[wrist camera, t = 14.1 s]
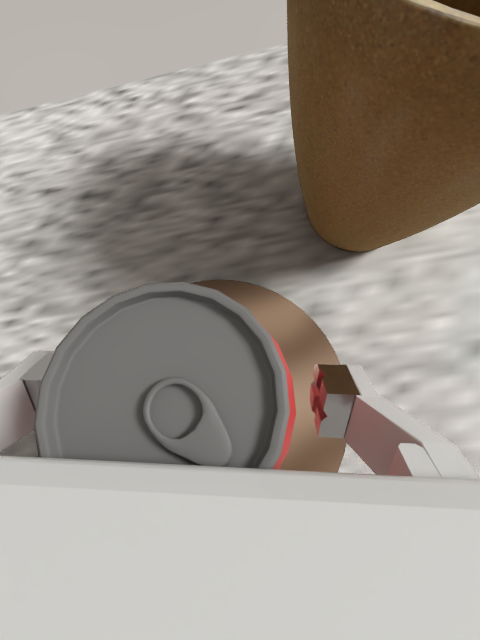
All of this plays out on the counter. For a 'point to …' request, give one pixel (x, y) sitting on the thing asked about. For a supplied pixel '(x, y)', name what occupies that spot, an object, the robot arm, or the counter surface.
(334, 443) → the disc
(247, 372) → the beer can
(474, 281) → the counter surface
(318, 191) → the plant pot
